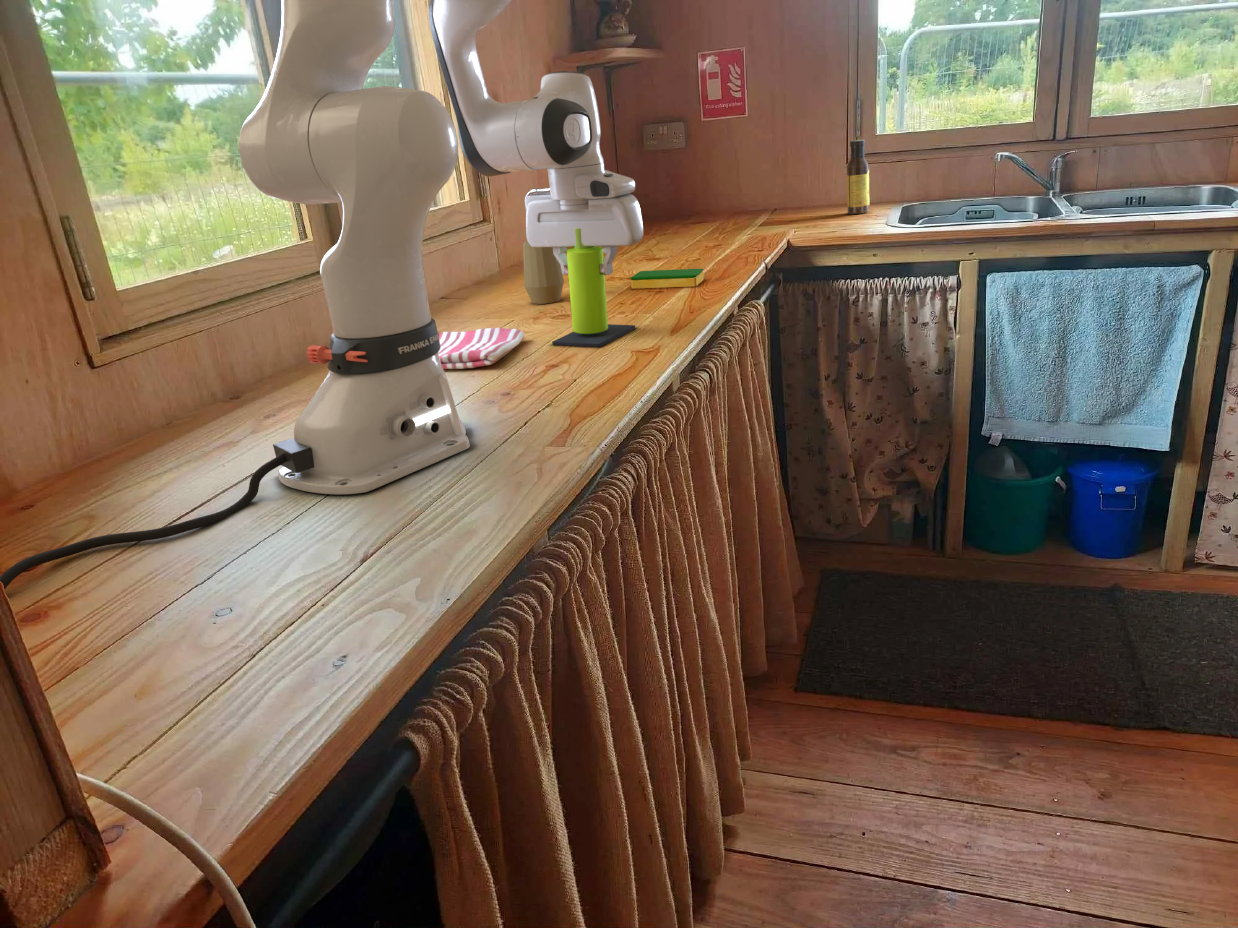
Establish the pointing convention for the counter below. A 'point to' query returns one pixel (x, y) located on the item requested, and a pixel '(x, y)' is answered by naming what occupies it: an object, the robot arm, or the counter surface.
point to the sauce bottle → (857, 179)
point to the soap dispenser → (587, 288)
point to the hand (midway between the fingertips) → (587, 274)
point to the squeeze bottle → (542, 274)
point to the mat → (594, 337)
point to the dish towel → (476, 347)
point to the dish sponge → (667, 278)
